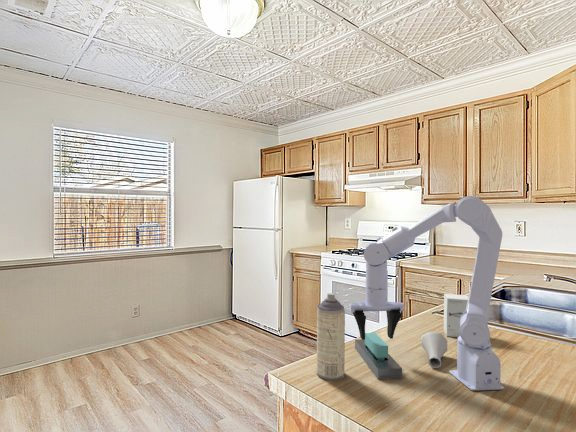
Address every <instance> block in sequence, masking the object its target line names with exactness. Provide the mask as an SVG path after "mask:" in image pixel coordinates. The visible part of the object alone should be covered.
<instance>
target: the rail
mask: <svg viewBox="0 0 576 432" xmlns="http://www.w3.org/2000/svg"><path fill="white" fill-rule="evenodd" d="M354 349H355V351H356V352H357V353H358V354H359V356H360V357H361V358H362V360H363V361H364V363H365V364H366V365H367V366H368V368H369V370H370V371H371V372H372V373H373V375H374V376H375V377H376V379H377V380H397V379H403V367H402V366H400V364H399V363H398V362H397V361H396V360H395V359H394V358H393V356H391V355H390V354H389V353H388V358H384V360H376V356H375V355H374V354H373V353H372V352H371V350H368V347H367V346H366V345H365V340H362V339H361V338H360V339H359V338H358V339H354Z"/></svg>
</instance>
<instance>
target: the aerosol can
mask: <svg viewBox="0 0 576 432" xmlns="http://www.w3.org/2000/svg"><path fill="white" fill-rule="evenodd" d="M345 313H346V309H345V306H344V305H343V304H341V302H340V301H339V300H338V299H337V298H336V297H335V293H333V292H329V293H327V296H326V298H324V300H323V301H321V303H320V304H318V305H317V308H316V316H317V317H316V376H317V377H318V378H320V379H321V380H324V381H340V380H342V379H344V377H345V359H346V358H345V352H346V351H345V348H346V347H345V345H346V344H345V343H346V339H345V336H346V335H345V333H346V332H345V331H346V330H345V328H346V327H345V325H346V324H345V323H346V321H345V319H346V314H345Z"/></svg>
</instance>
